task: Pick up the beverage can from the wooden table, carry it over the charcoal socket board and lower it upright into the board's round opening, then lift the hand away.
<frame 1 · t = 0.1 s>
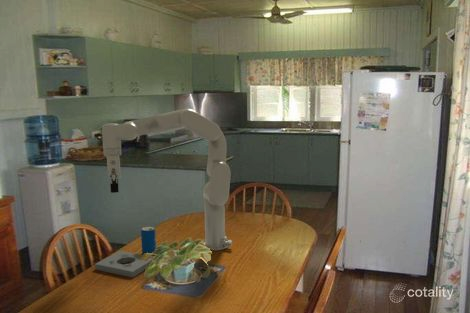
hand: (114, 189, 187), 31 cm above the table, tool pointing down, fingers open, 9 cm apart
beverage can: (149, 253, 195), on the table
socket board: (126, 266, 181), on the table
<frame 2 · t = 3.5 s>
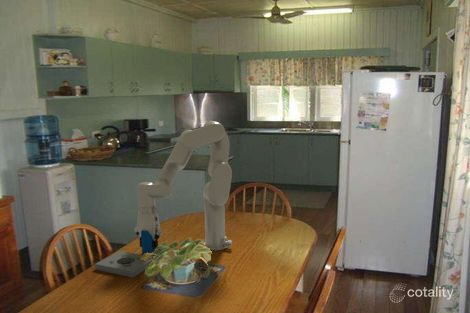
hand: (148, 246, 195), 3 cm above the table, tool pointing down, fingers closed on beverage can, 6 cm apart
beverage can: (149, 253, 195), on the table, touching gripper
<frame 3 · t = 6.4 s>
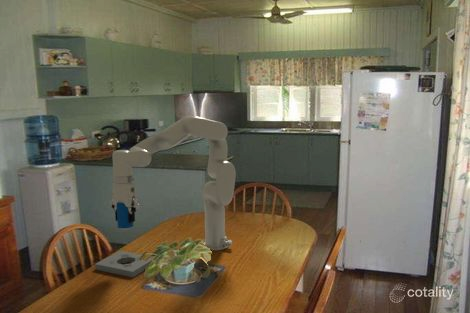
hand: (125, 220, 179), 20 cm above the table, tool pointing down, fingers closed on beverage can, 6 cm apart
beverage can: (125, 228, 179), point 17 cm above the table, touching gripper
when the fingers open (4 cm above the table, at t = 9.4 s): beverage can drops 1 cm, resting in socket board.
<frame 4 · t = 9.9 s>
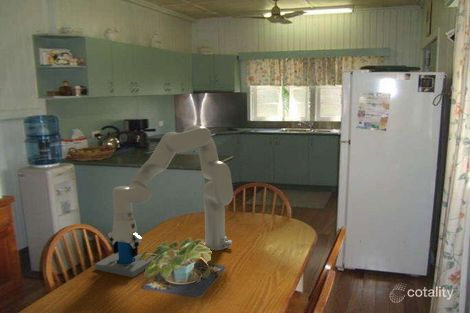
hand: (125, 254, 180), 5 cm above the table, tool pointing down, fingers open, 9 cm apart
beverage can: (127, 266, 181), resting in socket board
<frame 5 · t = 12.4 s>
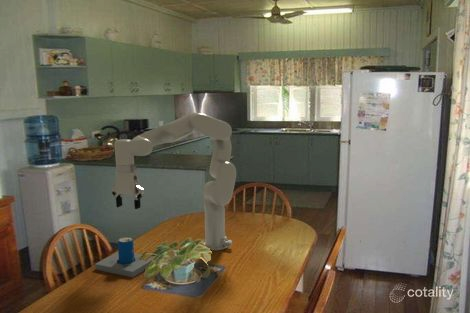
hand: (128, 207, 182), 25 cm above the table, tool pointing down, fingers open, 9 cm apart
nothing on the table moved.
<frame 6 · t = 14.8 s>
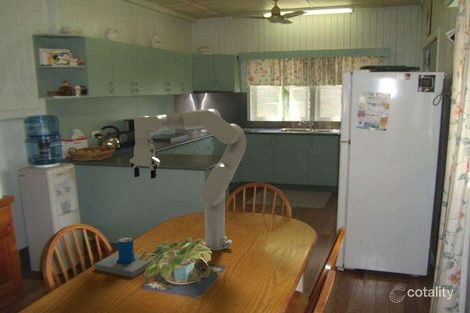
hand: (145, 177, 203), 33 cm above the table, tool pointing down, fingers open, 9 cm apart
nothing on the table moved.
at the end: beverage can 0.3 cm off-centre on the socket board, point 0.0 cm above the socket board's base; beverage can tilted 0°; the gripper is holding nothing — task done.
